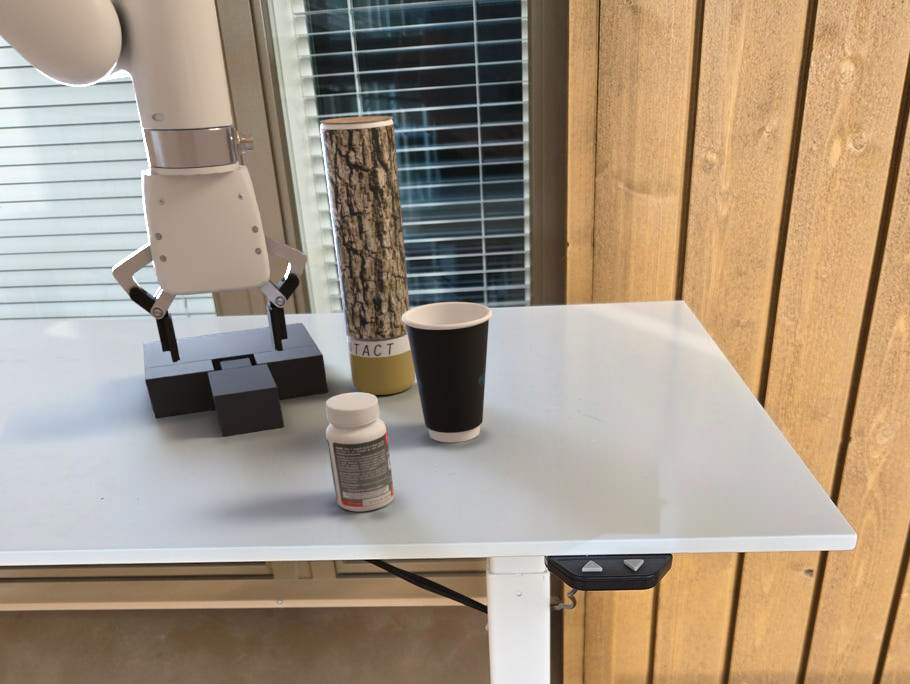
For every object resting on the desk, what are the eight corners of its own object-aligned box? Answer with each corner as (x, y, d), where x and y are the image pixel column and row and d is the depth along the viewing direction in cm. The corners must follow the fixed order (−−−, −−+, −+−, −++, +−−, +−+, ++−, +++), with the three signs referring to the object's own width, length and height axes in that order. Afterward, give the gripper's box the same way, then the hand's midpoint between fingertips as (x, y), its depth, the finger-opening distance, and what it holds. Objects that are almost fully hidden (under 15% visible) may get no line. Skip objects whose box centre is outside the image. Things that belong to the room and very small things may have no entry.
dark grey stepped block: (222, 436, 86) (213, 396, 83) (213, 401, 94) (205, 363, 92) (284, 426, 87) (277, 386, 85) (270, 392, 96) (263, 355, 93)
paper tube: (374, 373, 99) (345, 116, 85) (427, 380, 97) (406, 115, 83) (341, 393, 94) (304, 123, 80) (395, 400, 92) (367, 122, 78)
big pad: (155, 418, 91) (145, 379, 88) (152, 378, 102) (143, 343, 100) (328, 392, 95) (322, 354, 93) (307, 356, 106) (302, 322, 104)
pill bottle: (405, 500, 72) (395, 400, 67) (356, 518, 70) (342, 416, 65) (373, 482, 75) (361, 385, 70) (325, 500, 73) (309, 400, 68)
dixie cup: (513, 433, 83) (510, 312, 77) (443, 456, 79) (434, 331, 73) (464, 411, 88) (458, 296, 82) (396, 432, 85) (384, 313, 78)
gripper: (286, 143, 81) (310, 334, 91) (86, 152, 77) (133, 352, 86) (299, 150, 75) (322, 353, 85) (83, 161, 71) (134, 374, 80)
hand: (227, 352), depth 85 cm, fingers open, 9 cm apart
